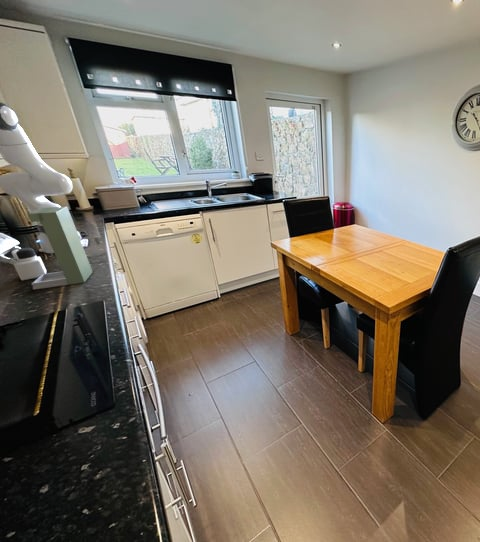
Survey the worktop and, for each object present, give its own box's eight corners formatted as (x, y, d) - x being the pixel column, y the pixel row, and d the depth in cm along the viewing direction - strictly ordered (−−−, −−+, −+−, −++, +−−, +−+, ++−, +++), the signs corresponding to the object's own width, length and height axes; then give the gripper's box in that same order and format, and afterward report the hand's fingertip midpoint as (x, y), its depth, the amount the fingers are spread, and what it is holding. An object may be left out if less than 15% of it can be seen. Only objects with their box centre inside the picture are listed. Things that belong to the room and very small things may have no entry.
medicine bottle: (46, 271, 124) (35, 245, 120) (46, 276, 120) (34, 249, 115) (22, 275, 120) (9, 249, 115) (21, 280, 115) (7, 253, 110)
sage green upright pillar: (45, 278, 118) (13, 209, 106) (92, 271, 125) (67, 206, 113) (32, 289, 108) (-5, 215, 97) (84, 282, 115) (55, 212, 104)
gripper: (-39, 239, 99) (13, 261, 108) (-6, 226, 116) (37, 245, 124) (-51, 253, 99) (2, 273, 107) (-17, 238, 116) (27, 256, 124)
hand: (21, 258), depth 116 cm, fingers open, 8 cm apart
